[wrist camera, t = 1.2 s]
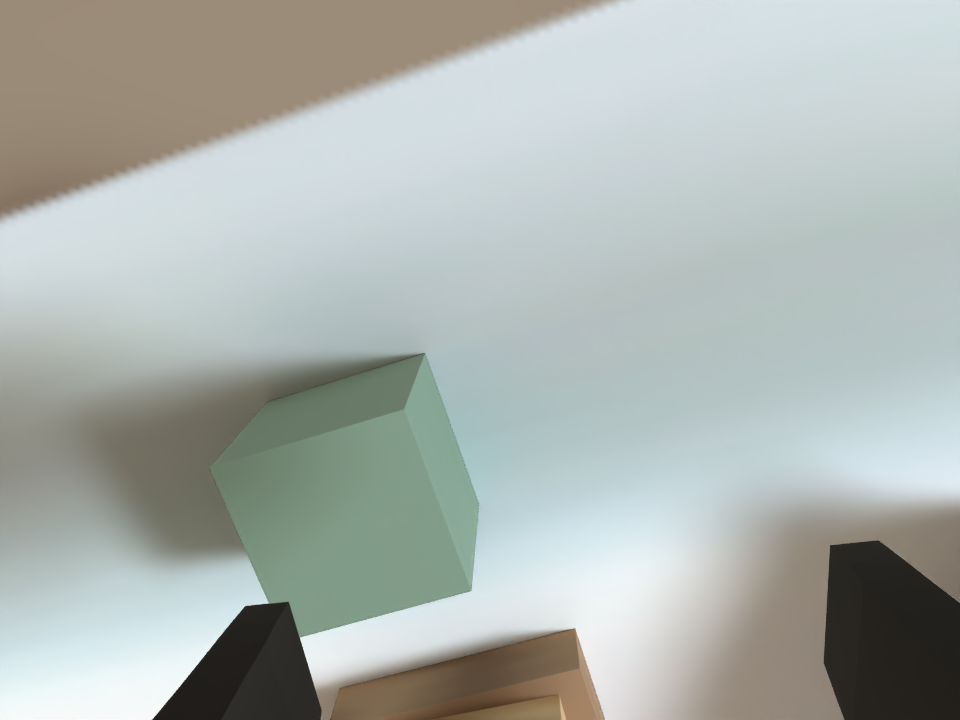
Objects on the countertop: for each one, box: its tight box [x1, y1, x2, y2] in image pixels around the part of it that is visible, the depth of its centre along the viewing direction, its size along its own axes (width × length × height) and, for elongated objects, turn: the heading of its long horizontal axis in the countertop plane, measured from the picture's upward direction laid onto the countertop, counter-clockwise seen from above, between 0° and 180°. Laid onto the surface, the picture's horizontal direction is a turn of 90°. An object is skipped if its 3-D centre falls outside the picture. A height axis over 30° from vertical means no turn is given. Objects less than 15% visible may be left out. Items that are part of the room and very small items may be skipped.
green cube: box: [209, 353, 479, 637], centre depth 23 cm, size 5×5×5 cm
